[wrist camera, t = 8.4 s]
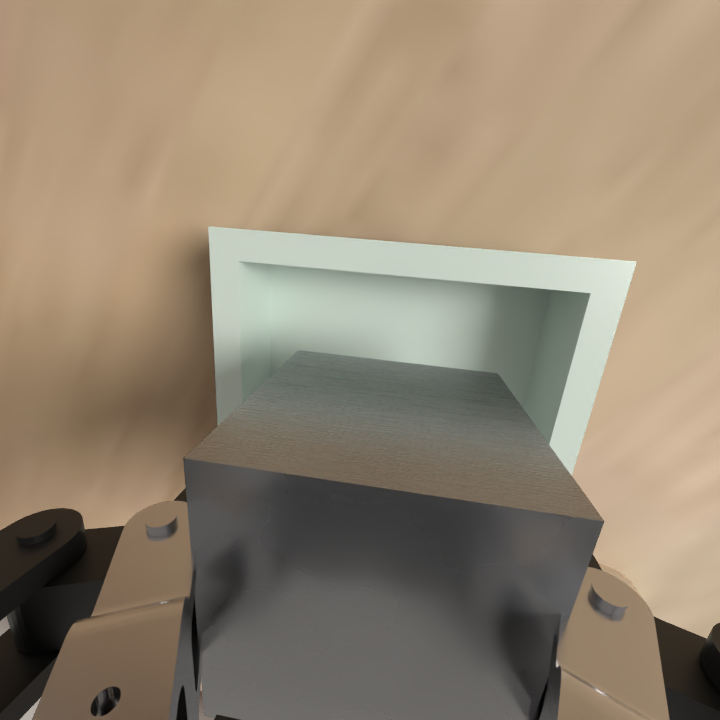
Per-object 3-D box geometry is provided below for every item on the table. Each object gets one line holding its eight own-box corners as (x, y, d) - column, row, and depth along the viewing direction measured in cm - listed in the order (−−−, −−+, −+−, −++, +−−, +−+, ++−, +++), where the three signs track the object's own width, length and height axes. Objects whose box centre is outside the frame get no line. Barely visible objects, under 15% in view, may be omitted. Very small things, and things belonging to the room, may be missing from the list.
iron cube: (497, 373, 11) (603, 521, 5) (463, 536, 12) (510, 783, 7) (298, 350, 11) (183, 458, 5) (293, 509, 13) (204, 715, 7)
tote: (575, 257, 14) (636, 261, 10) (507, 525, 18) (534, 599, 14) (257, 231, 15) (208, 226, 12) (259, 487, 19) (223, 545, 16)
